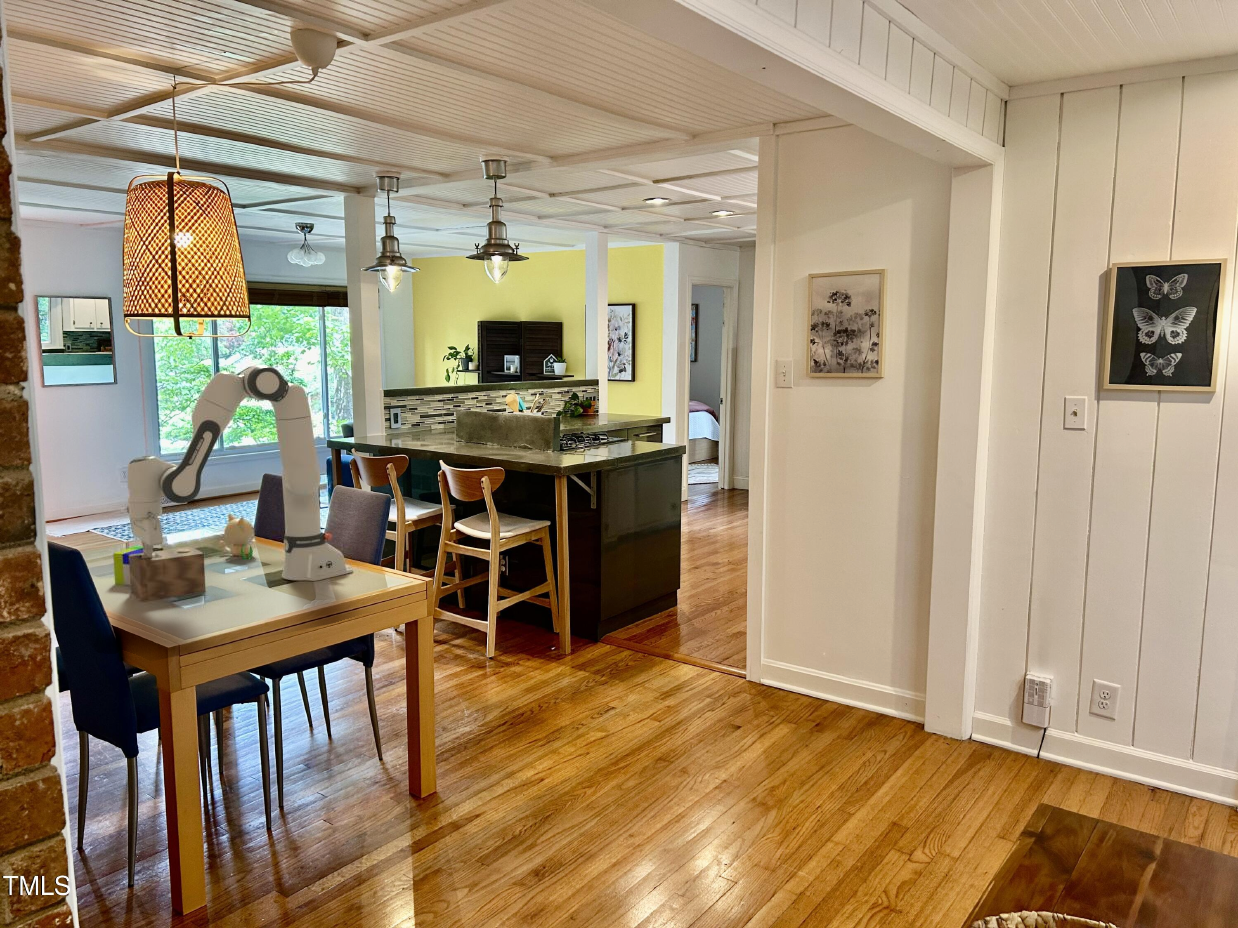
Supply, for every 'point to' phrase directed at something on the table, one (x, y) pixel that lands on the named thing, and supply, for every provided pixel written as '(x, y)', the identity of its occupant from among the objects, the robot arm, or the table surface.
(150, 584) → the walnut block
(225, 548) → the kitten
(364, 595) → the table surface
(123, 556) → the puzzle toy
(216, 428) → the robot arm
